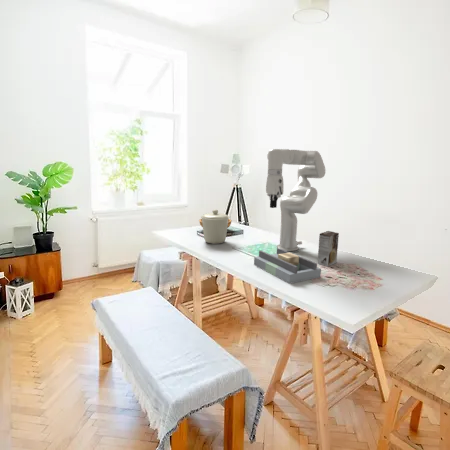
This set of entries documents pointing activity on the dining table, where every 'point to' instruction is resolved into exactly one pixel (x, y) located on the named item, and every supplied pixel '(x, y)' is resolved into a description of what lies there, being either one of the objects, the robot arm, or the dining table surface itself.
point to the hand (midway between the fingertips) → (273, 207)
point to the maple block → (289, 258)
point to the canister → (215, 227)
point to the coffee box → (328, 248)
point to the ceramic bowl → (228, 222)
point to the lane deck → (287, 267)
